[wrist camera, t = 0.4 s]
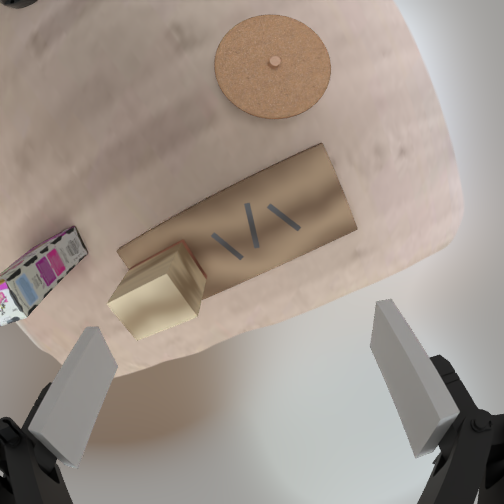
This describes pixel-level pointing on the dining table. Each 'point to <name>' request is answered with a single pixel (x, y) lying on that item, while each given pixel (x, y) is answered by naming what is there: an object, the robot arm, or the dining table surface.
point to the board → (256, 222)
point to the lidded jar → (272, 66)
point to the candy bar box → (38, 274)
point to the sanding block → (160, 292)
